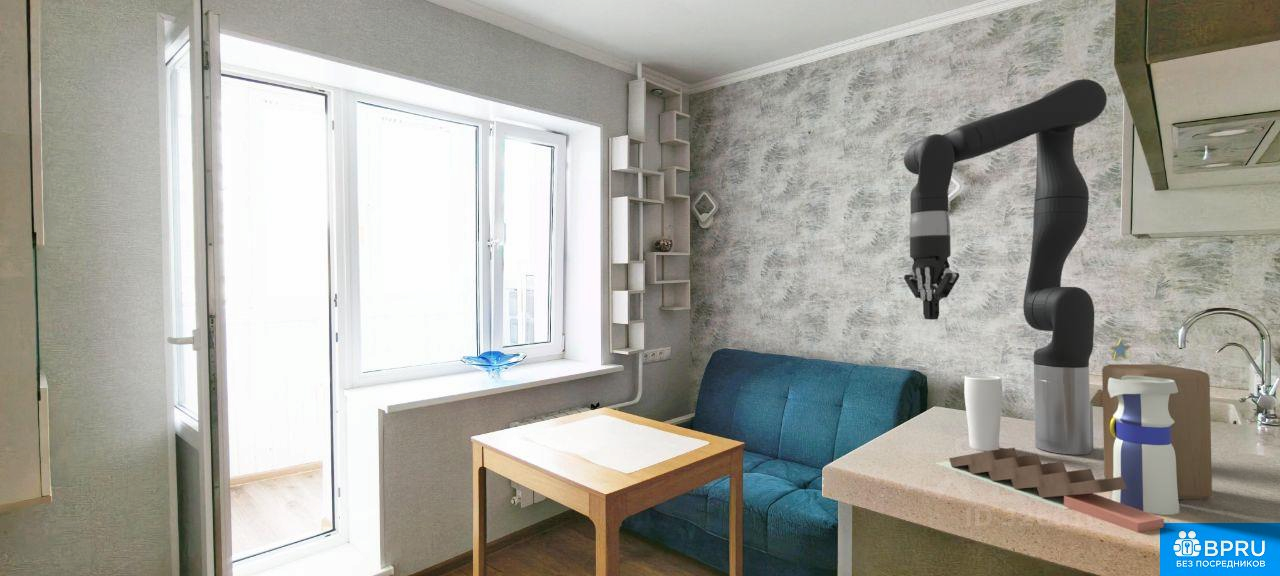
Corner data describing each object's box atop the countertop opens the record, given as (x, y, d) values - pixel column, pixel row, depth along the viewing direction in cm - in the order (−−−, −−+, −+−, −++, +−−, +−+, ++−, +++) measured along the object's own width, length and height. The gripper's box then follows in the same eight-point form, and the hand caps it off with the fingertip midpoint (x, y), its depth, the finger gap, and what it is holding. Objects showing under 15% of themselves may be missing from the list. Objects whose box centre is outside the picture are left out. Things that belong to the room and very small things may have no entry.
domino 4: (1033, 475, 98) (1090, 468, 89) (1037, 485, 97) (1095, 479, 89) (1010, 478, 97) (1066, 472, 88) (1014, 489, 96) (1070, 483, 87)
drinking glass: (957, 447, 123) (956, 375, 123) (984, 444, 125) (983, 374, 125) (983, 455, 117) (982, 380, 117) (1011, 453, 118) (1010, 378, 119)
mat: (963, 461, 113) (963, 459, 113) (1099, 506, 89) (1099, 503, 89) (934, 465, 111) (934, 463, 111) (1064, 511, 87) (1064, 509, 87)
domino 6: (1088, 491, 90) (1163, 518, 80) (1088, 502, 90) (1163, 530, 80) (1064, 495, 88) (1137, 523, 79) (1063, 506, 88) (1137, 534, 79)
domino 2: (989, 461, 106) (1037, 454, 97) (993, 470, 106) (1041, 463, 97) (968, 464, 105) (1014, 456, 96) (971, 473, 104) (1018, 467, 95)
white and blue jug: (1095, 503, 90) (1092, 340, 91) (1127, 494, 94) (1124, 337, 94) (1160, 522, 83) (1156, 344, 83) (1192, 511, 86) (1189, 341, 87)
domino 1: (970, 455, 110) (1014, 447, 101) (973, 464, 110) (1018, 457, 101) (949, 458, 109) (992, 450, 100) (951, 467, 108) (995, 460, 99)
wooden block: (1164, 481, 100) (1162, 363, 100) (1215, 502, 90) (1213, 371, 90) (1101, 480, 101) (1099, 363, 101) (1145, 500, 91) (1142, 371, 91)
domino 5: (1060, 483, 94) (1122, 476, 85) (1064, 493, 93) (1127, 488, 84) (1036, 486, 92) (1097, 480, 84) (1040, 497, 92) (1102, 492, 83)
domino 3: (1010, 468, 102) (1062, 461, 93) (1014, 478, 102) (1066, 471, 93) (988, 471, 101) (1039, 464, 92) (991, 481, 100) (1042, 474, 91)
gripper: (970, 232, 116) (972, 320, 116) (920, 238, 129) (921, 317, 128) (940, 231, 114) (941, 321, 114) (892, 237, 126) (893, 318, 126)
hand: (931, 319), depth 121 cm, fingers closed
